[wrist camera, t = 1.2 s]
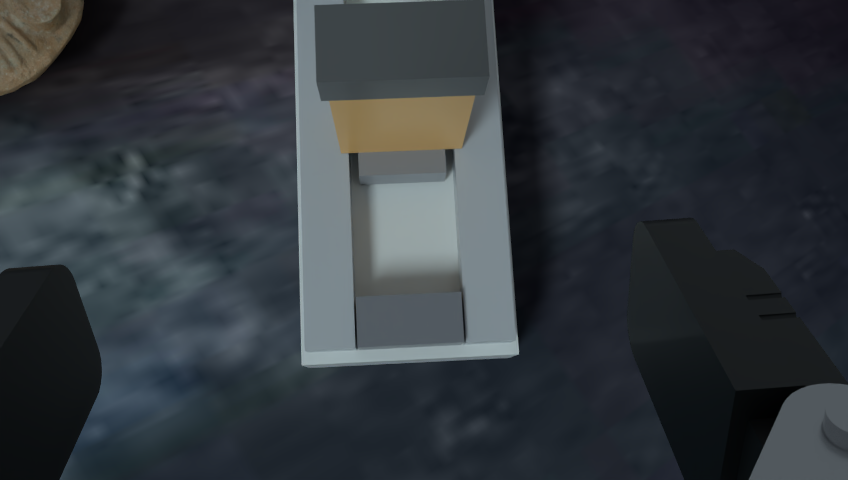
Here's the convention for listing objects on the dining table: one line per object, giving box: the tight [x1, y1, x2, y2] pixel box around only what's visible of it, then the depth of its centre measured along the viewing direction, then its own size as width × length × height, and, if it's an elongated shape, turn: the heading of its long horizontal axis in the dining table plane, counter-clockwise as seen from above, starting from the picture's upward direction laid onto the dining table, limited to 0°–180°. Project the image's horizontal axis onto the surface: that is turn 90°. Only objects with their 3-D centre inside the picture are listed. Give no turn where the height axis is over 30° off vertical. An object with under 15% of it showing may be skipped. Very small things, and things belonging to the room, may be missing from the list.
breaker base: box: [293, 0, 519, 368], centre depth 36 cm, size 20×9×5 cm, turn 3°
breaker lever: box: [314, 0, 490, 185], centre depth 30 cm, size 4×5×10 cm
